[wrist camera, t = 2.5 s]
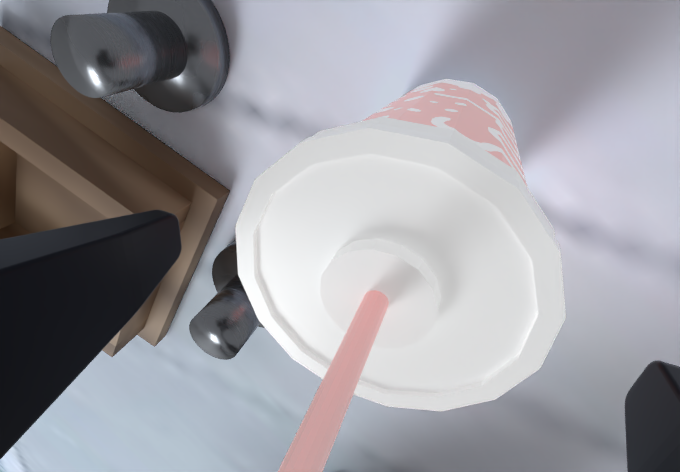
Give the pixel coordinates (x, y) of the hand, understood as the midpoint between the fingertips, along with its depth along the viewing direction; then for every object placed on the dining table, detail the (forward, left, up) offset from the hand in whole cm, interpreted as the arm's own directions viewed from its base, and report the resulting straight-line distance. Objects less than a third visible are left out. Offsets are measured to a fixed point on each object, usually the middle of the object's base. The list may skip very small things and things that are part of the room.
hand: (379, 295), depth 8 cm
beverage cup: (0, 0, -9) cm, 9 cm away
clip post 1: (-3, +11, -9) cm, 14 cm away
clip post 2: (-11, +3, -9) cm, 14 cm away
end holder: (-14, +13, -9) cm, 21 cm away
